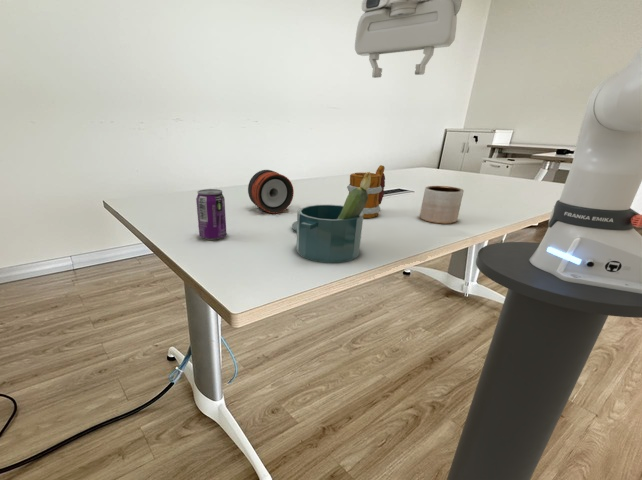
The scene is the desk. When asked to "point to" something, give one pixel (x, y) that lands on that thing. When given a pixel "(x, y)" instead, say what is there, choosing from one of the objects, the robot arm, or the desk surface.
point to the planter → (441, 204)
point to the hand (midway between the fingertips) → (397, 76)
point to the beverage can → (211, 214)
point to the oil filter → (270, 191)
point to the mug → (370, 190)
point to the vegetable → (356, 199)
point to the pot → (327, 234)
